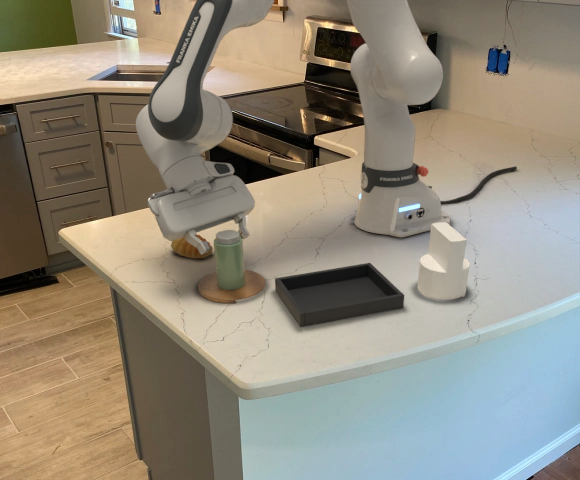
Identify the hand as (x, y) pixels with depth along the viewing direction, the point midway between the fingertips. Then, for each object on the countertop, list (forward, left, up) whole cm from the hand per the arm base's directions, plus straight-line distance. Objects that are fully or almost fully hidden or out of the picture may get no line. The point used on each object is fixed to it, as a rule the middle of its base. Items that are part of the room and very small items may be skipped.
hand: (226, 244), depth 118 cm
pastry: (+4, -19, -9) cm, 21 cm away
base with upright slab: (-37, +16, -9) cm, 42 cm away
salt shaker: (0, +1, -8) cm, 8 cm away
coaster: (0, +1, -9) cm, 9 cm away
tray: (-17, +13, -9) cm, 24 cm away
